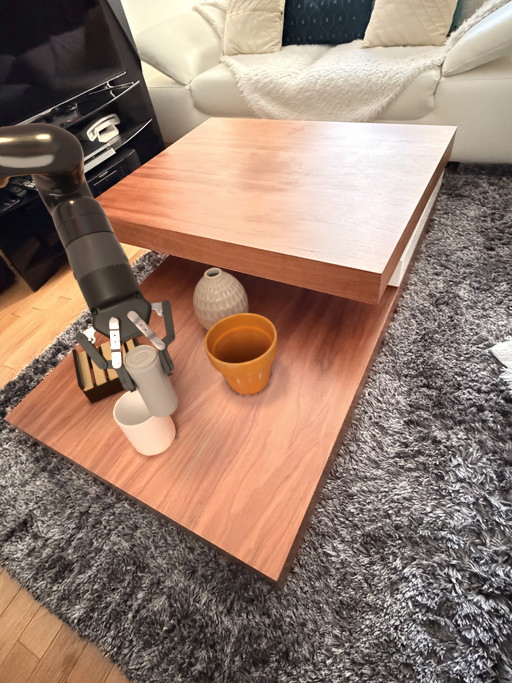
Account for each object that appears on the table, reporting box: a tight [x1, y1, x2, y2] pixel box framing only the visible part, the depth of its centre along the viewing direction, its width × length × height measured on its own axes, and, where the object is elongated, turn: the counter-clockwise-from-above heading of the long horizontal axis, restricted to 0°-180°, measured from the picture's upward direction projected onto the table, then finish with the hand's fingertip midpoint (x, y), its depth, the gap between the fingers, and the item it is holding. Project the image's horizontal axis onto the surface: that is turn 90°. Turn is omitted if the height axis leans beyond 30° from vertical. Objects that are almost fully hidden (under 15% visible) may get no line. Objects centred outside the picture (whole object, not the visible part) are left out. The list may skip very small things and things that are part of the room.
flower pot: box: [203, 312, 279, 396], centre depth 79 cm, size 14×14×13 cm
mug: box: [112, 388, 177, 456], centre depth 74 cm, size 9×12×11 cm
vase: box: [192, 267, 249, 332], centre depth 91 cm, size 13×13×17 cm
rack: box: [71, 337, 141, 405], centre depth 88 cm, size 14×12×7 cm
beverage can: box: [124, 344, 180, 417], centre depth 58 cm, size 5×5×12 cm
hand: (151, 382), depth 55 cm, fingers closed on beverage can, 5 cm apart
